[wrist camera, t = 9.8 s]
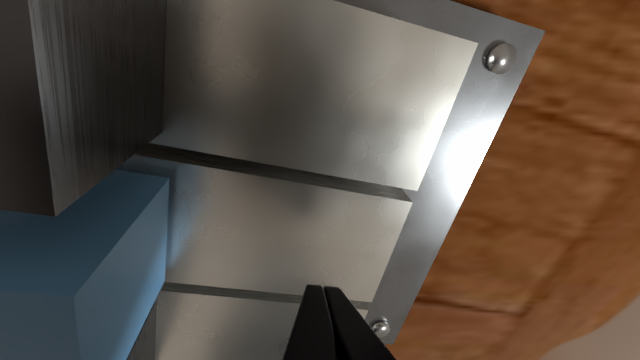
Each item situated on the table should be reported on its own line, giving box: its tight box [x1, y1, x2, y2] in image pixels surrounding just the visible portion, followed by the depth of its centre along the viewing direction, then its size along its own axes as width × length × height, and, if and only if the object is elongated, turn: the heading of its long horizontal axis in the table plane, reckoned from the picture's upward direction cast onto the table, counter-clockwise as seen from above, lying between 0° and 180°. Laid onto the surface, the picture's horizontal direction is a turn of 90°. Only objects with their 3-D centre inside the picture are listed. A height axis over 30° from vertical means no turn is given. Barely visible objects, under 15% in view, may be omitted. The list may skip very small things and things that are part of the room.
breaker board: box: [0, 0, 545, 360], centre depth 9 cm, size 16×19×8 cm
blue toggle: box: [0, 169, 170, 360], centre depth 7 cm, size 4×2×4 cm
